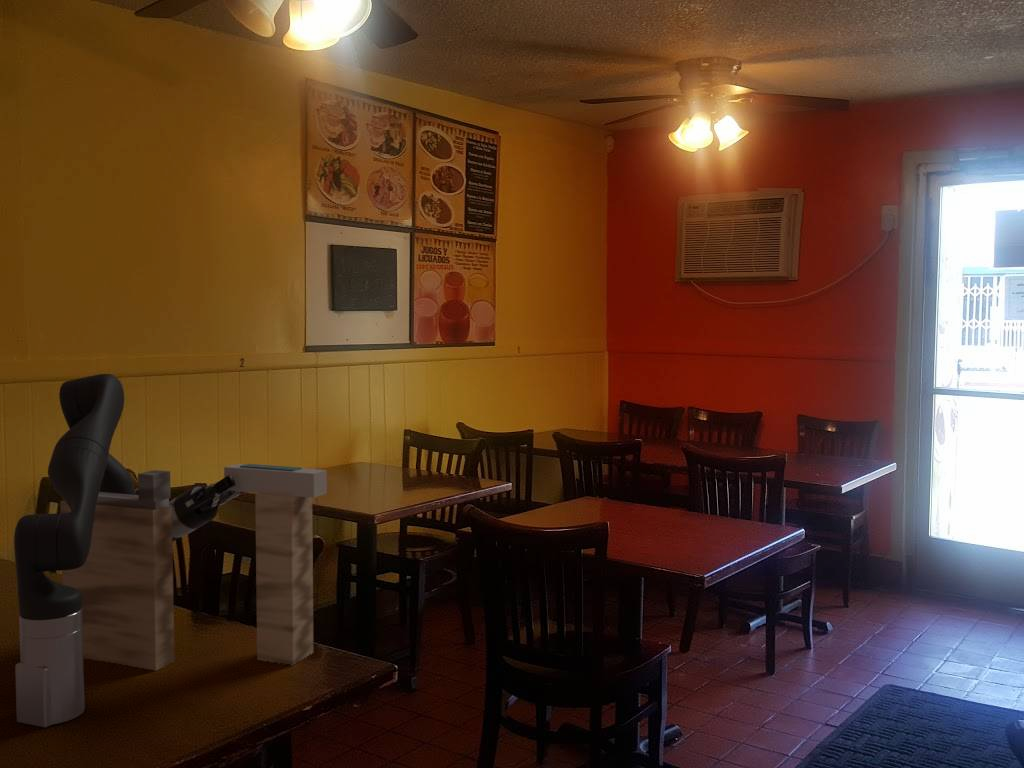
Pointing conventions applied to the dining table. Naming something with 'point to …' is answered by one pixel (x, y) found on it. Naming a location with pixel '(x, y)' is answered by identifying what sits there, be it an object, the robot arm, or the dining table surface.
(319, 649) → the dining table surface
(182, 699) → the dining table surface
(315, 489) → the block
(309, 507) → the stand
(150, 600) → the rail post
